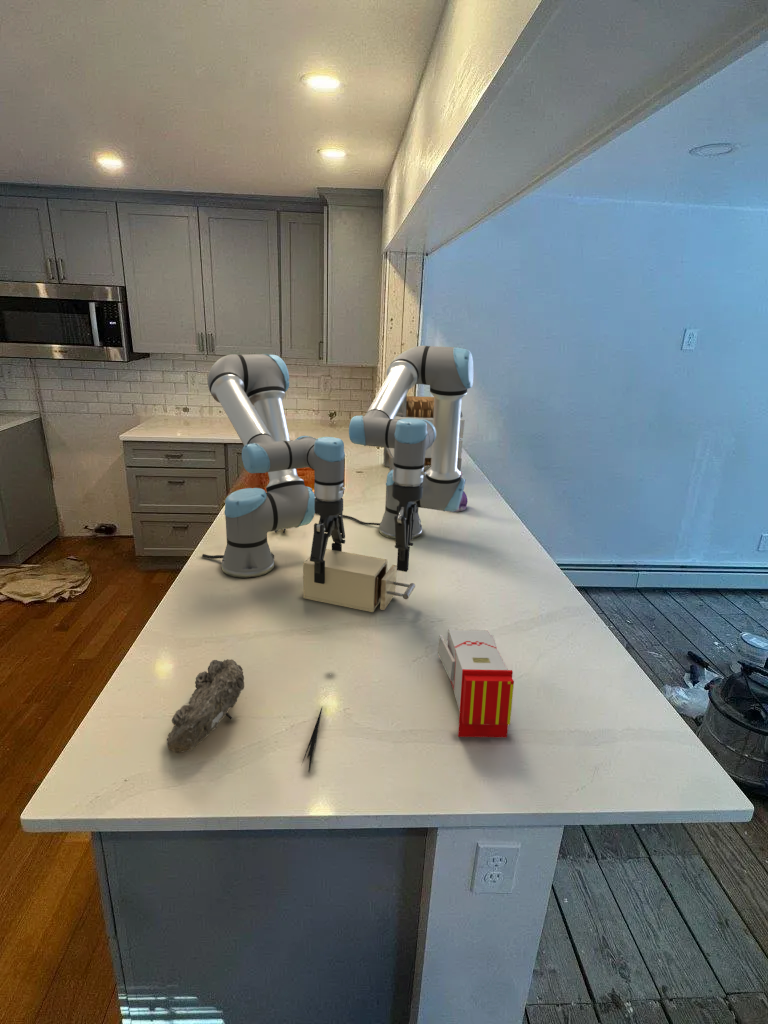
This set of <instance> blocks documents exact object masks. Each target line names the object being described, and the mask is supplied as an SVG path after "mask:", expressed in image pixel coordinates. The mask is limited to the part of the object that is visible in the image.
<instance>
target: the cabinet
mask: <svg viewBox="0 0 768 1024" xmlns="http://www.w3.org/2000/svg"><path fill="white" fill-rule="evenodd" d="M323 560H324V561H325V583H324V584H320V583H315V582H314V562H312V561H310V556H309V557H308V558H307V559H306V560H305V561H303V563H302V572H303V573H302V585H303V586H302V587H303V588H302V590H303V591H302V593H303V594H302V595H303V597H302V598H303V599H306V600H309V601H310V600H311V601H314V602H315V601H316V602H319V603H325V604H330V605H335V606H340V607H345V608H349V609H350V608H351V609H355V610H360V611H364V612H370V613H374V612H375V610H376V608H377V607H378V606H379V604H380V602H381V599H380V601H379V602H378V604H377V605H376V606H375V605H374V600H375V577H376V576H377V575H378V574H379V572H380V571H381V570H382V568H383V567H384V566H385V565H386V566H387V567H388V558H382V557H376V556H370V555H364V554H358V553H352V552H347V551H343V550H342V551H336V550H332V548H331V549H330V548H326V551H325V555H324V559H323Z"/></svg>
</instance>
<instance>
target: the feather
mask: <svg viewBox="0 0 768 1024" xmlns="http://www.w3.org/2000/svg"><path fill="white" fill-rule="evenodd" d="M329 675H330V676H331V675H332V674H331V673H330V674H329ZM322 710H323V707H321V708H320V710H319V713H318V716H317V719H316V723H315V725H314V728H313V731H312V733H311V737H310V739H309V742H308V745H307V748H306V751H305V754H304V757H303V760H302V763H301V767H302V765H303V763H304V761H305V758H308V759H309V760H308V762H307V763H308V764H307V766H308V771H310V770H311V766H312V765H311V764H312V760H313V757H315V756H314V755H315V751H316V749H315V746H317V739H318V733H319V729H320V722H321V717H322V712H323V711H322ZM313 754H314V755H313ZM306 755H307V757H306Z"/></svg>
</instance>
